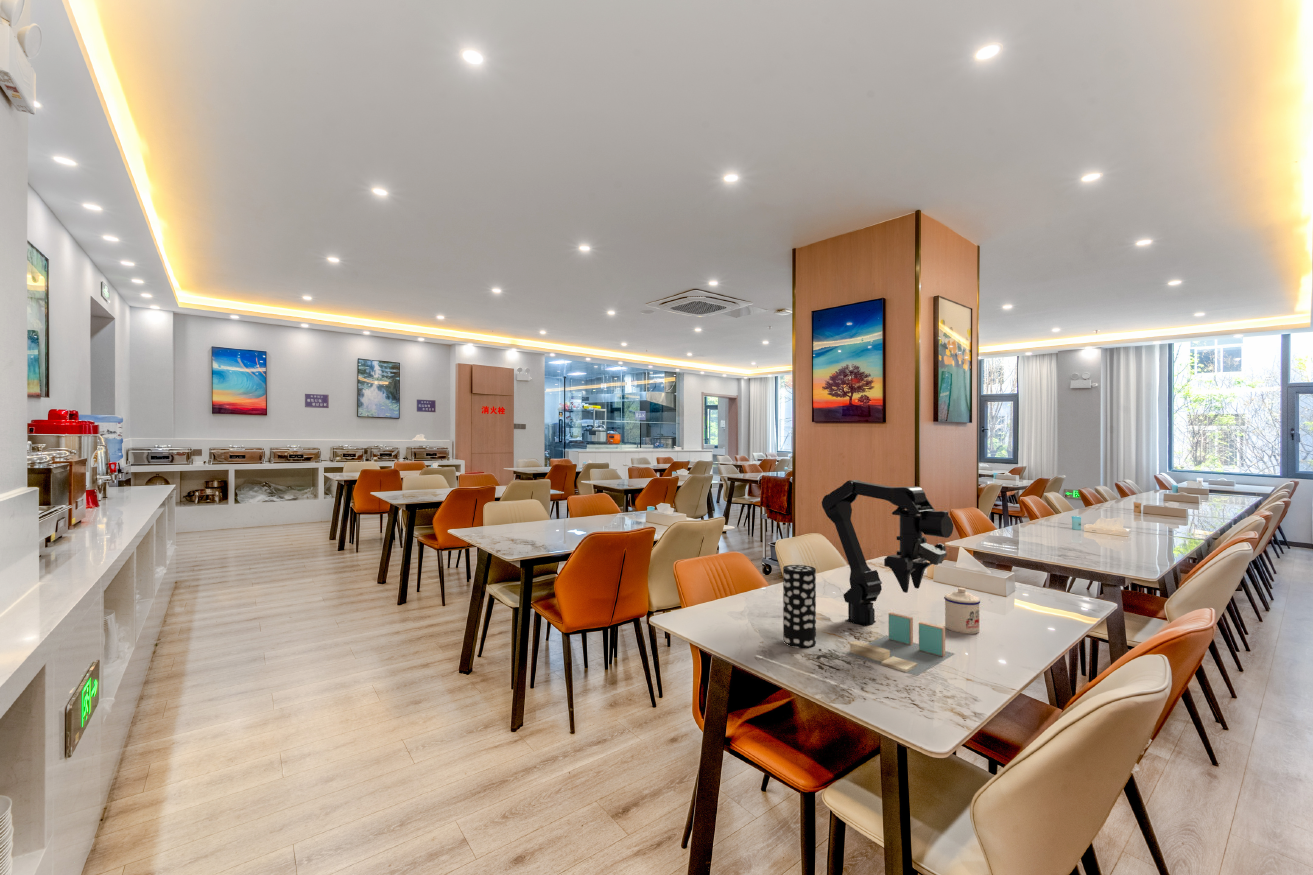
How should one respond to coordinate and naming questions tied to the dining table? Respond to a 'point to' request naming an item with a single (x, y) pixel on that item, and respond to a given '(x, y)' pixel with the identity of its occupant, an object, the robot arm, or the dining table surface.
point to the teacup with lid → (962, 612)
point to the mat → (906, 654)
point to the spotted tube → (799, 606)
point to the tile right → (932, 639)
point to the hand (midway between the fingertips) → (911, 590)
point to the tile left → (901, 628)
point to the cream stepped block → (881, 656)
